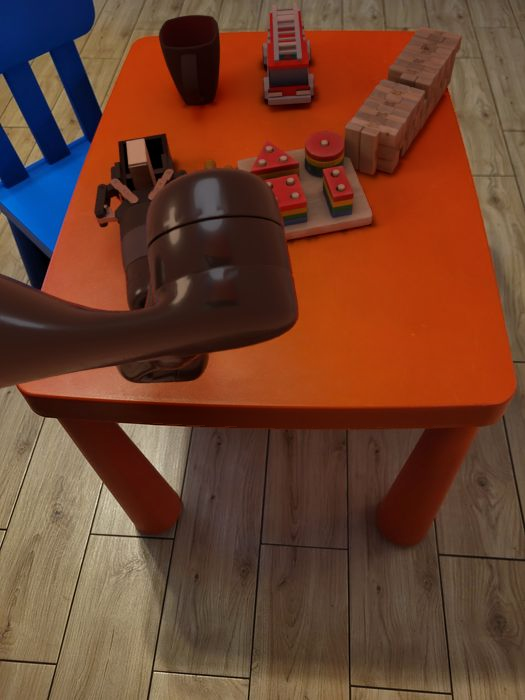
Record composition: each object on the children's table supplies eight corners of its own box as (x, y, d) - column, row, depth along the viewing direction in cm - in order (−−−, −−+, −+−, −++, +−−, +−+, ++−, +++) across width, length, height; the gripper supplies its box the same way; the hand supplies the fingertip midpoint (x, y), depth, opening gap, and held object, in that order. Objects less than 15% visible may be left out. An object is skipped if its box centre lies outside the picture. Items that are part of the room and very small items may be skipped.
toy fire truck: (264, 114, 106) (260, 61, 98) (262, 52, 116) (259, -1, 108) (315, 111, 106) (316, 57, 97) (309, 49, 116) (309, -5, 107)
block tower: (386, 184, 96) (455, 77, 108) (392, 141, 89) (465, 32, 101) (341, 169, 98) (413, 66, 110) (343, 126, 91) (420, 21, 103)
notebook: (148, 230, 92) (128, 167, 82) (145, 205, 95) (125, 141, 85) (165, 227, 92) (147, 164, 82) (162, 202, 95) (144, 138, 85)
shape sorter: (256, 246, 89) (253, 216, 84) (237, 168, 98) (233, 137, 93) (372, 224, 90) (376, 192, 85) (342, 148, 99) (343, 116, 94)
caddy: (133, 245, 91) (124, 217, 87) (127, 170, 101) (117, 141, 96) (183, 236, 92) (176, 207, 87) (172, 162, 101) (165, 132, 96)
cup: (227, 77, 113) (218, 12, 103) (226, 125, 105) (218, 60, 95) (173, 81, 113) (160, 17, 103) (170, 129, 106) (155, 65, 95)
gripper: (201, 216, 76) (186, 132, 85) (86, 237, 75) (83, 150, 84) (209, 256, 82) (194, 174, 91) (103, 276, 82) (99, 191, 91)
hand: (141, 163), depth 88 cm, fingers open, 6 cm apart
